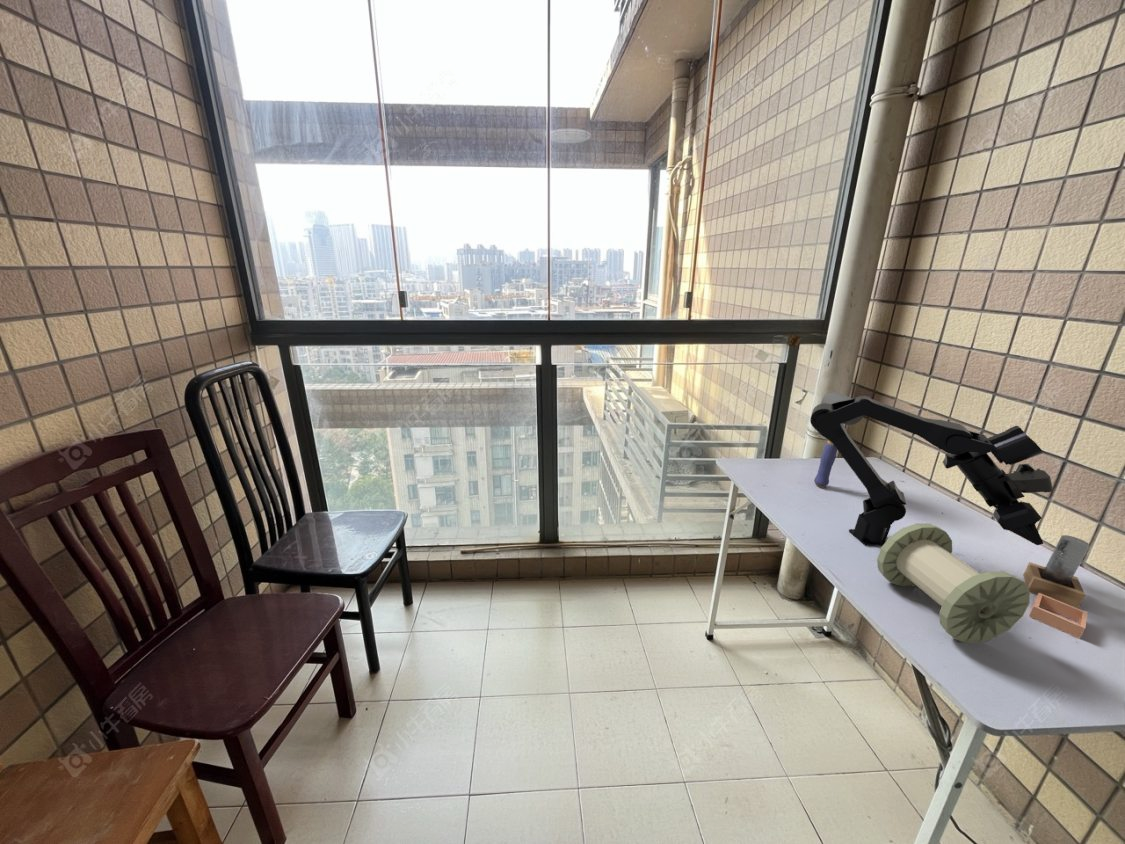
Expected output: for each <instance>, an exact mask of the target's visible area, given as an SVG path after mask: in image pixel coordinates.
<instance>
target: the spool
mask: <svg viewBox="0 0 1125 844" xmlns="http://www.w3.org/2000/svg"><path fill="white" fill-rule="evenodd" d="M952 552H953V540H952V539H951V537H950V536H949V534H948V533H947V531H945V530H944V529H943V528H941V527H938V526H936V525H934V524H932V523H927V522H925V523H924V522H922V523H920V522H919V523H916V522H915V523H914V524H910V525H907V526H905V527H902V528H900V530H898V531H896V532H895V533H894V534H892V535H891V536H889V537H888V539H886V542H885V544H884V545H883V546H881V548H880V550H879V553H878V555H877V558H876V562H877V570H878V572H879V573H880V574H881V575H882V576H883V577H884V579H886V580H887V581H888V582H889V583H891V584H893V585H896V586H899V587H908V585H909V587H911V586H910V585H914V586H916V587H918V588H919V589H920V590H921V591H923V592H924V593H925V594H926V595H927V596H929V597H930V599H932V600H933V601H934V602H935V603H937V604H938V605H939V606H941V608H940V610H939V614H938V615H939V624H940V625H941V627H942V629H944V631H945V632H946V633H947V634H948V635H949V636H951V637H952V638H953V640H954V639H955V640H957V641H959V642H962V643H969V644H970V643H983V642H986V641H988V640H989V641H990V640H993V639H994V638H997V637H999V636H1000V635H1003V634H1004V633H1006V632H1008V631H1009V630H1010V629H1012V628H1013V627H1014V626H1015V625H1016V624H1017V622H1019V621H1020V620H1021V619H1022V617H1024V615H1025V612H1026V610H1027V608H1028V607H1029V605H1030V599H1031V598H1030V597H1031V593H1030V591H1029V589H1028V587H1027V586H1026V584H1025V581H1024V580H1022V579H1020V578H1019V577H1018V576H1015V575H1013V574H1011V573H1009V572H1006V571H1004V570H991V571H990V570H988V571H984V572H982V573H980V572H979V571H977V570H976V569H974V568H973V567H971V566H969V565H968V564H967V563H965V562H964V561H963V560H961V559H959V558H958V557H957V556H955V555H954V554H952ZM906 585H907V586H906Z"/></svg>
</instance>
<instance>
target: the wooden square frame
mask: <svg viewBox="0 0 1125 844" xmlns="http://www.w3.org/2000/svg"><path fill="white" fill-rule="evenodd" d="M1045 567H1046V566H1042V565H1039V564H1037V563H1034V562H1031V561H1030V562H1028V564H1027V566H1026V568H1025V569H1024V572H1023V573H1022V576H1023V581H1024V583H1025V584H1026V586H1027V587H1028V589H1029V591H1030V594H1033V595H1036V596H1037V595H1038V593H1041V594H1044V595H1046V596H1048V597H1051V598H1053V599H1056V600H1058V601H1061V602H1063V603H1066V604H1068V605H1070V606H1073V607H1075V608H1078V609H1080V608H1079V607H1080V606H1081V604H1082V602H1083V600H1085V597H1086V593H1085V591H1084V588H1083V587H1082V585H1081V582H1080V580H1079V577H1078V576H1075V575H1074V576H1073V578H1072V580H1071V581H1070V583H1069V585H1068V587H1067V586H1063V585H1060V584H1057V583H1054V582H1051V581H1048V580H1045V579H1042V578H1041V575H1042V573H1043V571H1044V569H1045Z"/></svg>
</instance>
